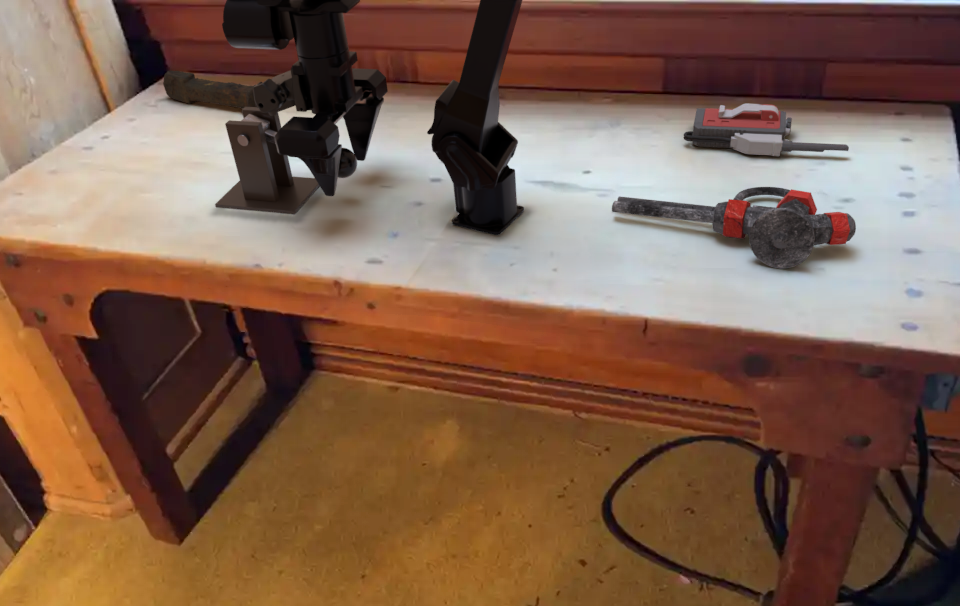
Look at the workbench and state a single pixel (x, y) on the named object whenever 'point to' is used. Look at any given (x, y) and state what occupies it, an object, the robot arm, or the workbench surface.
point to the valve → (759, 222)
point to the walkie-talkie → (749, 131)
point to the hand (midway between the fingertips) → (345, 177)
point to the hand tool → (207, 90)
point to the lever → (347, 156)
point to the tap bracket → (263, 170)
